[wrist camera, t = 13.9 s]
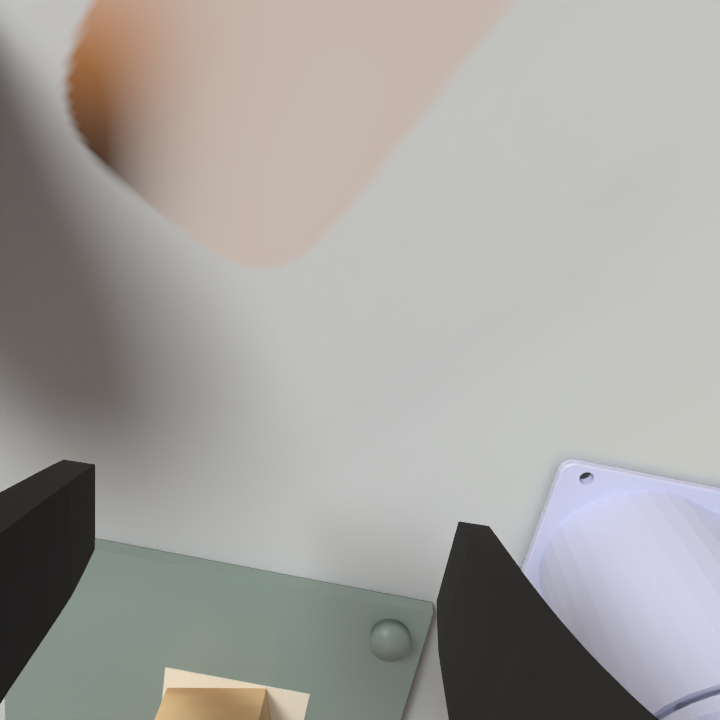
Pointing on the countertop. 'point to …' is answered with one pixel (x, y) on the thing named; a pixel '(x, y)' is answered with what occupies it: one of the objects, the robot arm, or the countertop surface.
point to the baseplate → (219, 642)
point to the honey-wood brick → (214, 704)
